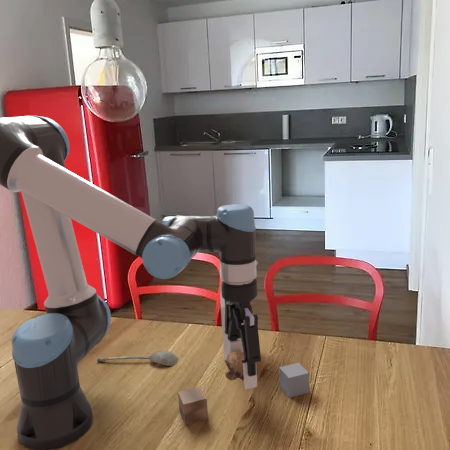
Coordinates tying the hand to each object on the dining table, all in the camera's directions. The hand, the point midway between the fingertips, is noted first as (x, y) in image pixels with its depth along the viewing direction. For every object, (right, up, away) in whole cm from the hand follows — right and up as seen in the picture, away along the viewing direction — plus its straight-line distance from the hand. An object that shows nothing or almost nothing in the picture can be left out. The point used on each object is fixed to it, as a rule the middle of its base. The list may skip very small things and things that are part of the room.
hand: (243, 376), depth 107 cm
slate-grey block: (+12, -4, +5) cm, 14 cm away
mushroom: (0, -1, 0) cm, 1 cm away
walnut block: (-11, -8, -2) cm, 13 cm away
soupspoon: (-27, -3, +22) cm, 35 cm away
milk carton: (-1, -1, +23) cm, 23 cm away
